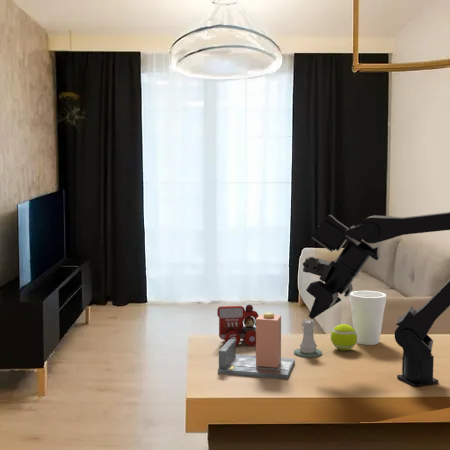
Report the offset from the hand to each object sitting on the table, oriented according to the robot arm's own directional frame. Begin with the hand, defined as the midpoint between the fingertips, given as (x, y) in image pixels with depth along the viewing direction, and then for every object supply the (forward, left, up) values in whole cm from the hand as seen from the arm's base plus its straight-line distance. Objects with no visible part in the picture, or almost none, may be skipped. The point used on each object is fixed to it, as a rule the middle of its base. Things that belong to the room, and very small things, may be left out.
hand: (310, 317), depth 143 cm
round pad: (+10, -5, -12) cm, 17 cm away
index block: (+3, +9, -11) cm, 15 cm away
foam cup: (+13, -25, -12) cm, 31 cm away
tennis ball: (+9, -15, -12) cm, 22 cm away
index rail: (+5, +11, -12) cm, 17 cm away
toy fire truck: (+25, +7, -12) cm, 29 cm away
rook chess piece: (+10, -5, -12) cm, 17 cm away
